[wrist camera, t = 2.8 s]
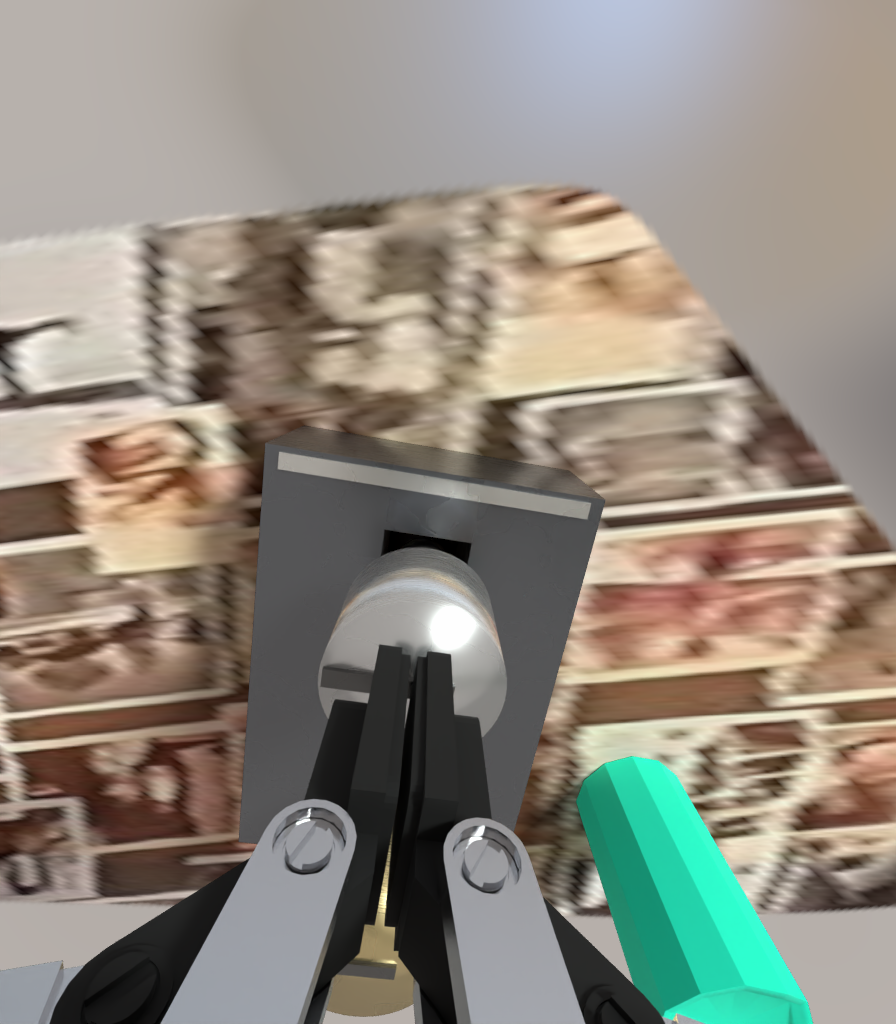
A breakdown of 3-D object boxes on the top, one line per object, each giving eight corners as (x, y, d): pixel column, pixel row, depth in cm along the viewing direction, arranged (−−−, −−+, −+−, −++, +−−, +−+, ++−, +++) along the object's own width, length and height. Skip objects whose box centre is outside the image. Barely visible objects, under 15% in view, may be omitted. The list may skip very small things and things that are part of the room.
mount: (569, 470, 22) (606, 500, 17) (491, 782, 27) (502, 873, 22) (304, 425, 21) (264, 443, 16) (274, 755, 26) (237, 843, 22)
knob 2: (446, 727, 22) (451, 924, 14) (429, 806, 23) (425, 1027, 15) (343, 713, 21) (291, 908, 14) (332, 795, 23) (278, 1014, 15)
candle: (605, 853, 29) (715, 1174, 18) (557, 787, 27) (643, 1090, 16) (697, 810, 28) (877, 1117, 17) (653, 738, 27) (816, 1022, 15)
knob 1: (490, 516, 19) (526, 620, 11) (468, 620, 20) (487, 777, 13) (372, 497, 19) (326, 590, 11) (358, 604, 20) (308, 754, 12)
